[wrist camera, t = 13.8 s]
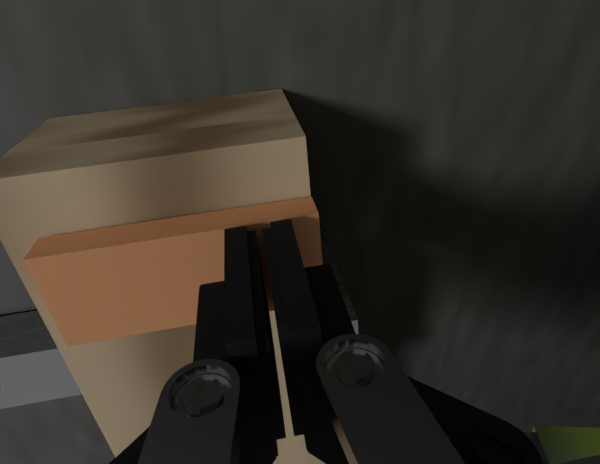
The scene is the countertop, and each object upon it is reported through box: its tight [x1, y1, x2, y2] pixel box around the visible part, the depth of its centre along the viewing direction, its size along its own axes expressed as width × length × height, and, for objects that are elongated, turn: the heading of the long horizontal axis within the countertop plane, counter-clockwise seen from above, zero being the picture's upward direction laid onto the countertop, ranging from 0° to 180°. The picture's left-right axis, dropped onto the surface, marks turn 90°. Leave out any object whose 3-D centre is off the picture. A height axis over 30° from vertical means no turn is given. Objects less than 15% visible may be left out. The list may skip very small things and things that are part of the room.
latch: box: [23, 196, 323, 346], centre depth 12 cm, size 7×3×1 cm, turn 95°
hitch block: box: [0, 89, 325, 464], centre depth 17 cm, size 8×18×5 cm, turn 5°
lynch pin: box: [0, 239, 358, 409], centre depth 17 cm, size 16×5×5 cm, turn 95°
